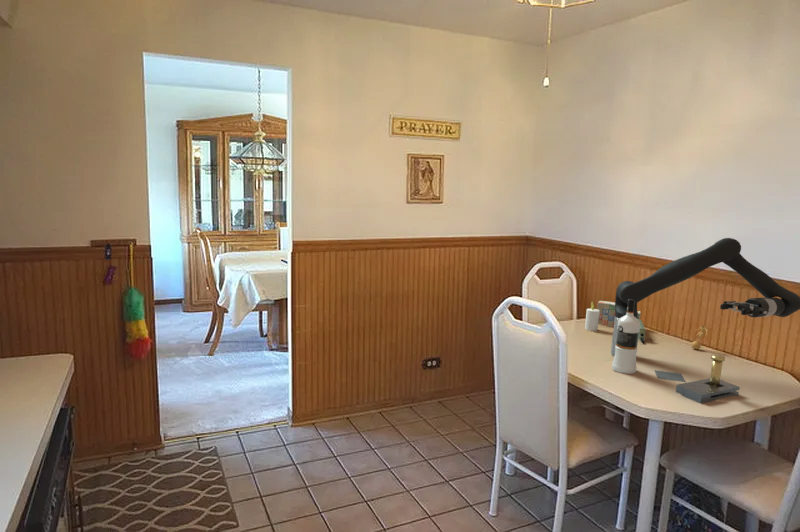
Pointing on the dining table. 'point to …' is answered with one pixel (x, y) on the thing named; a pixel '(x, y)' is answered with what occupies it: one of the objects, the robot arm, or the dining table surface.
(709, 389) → the slotted grey base plate
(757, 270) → the robot arm
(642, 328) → the handheld radio
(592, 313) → the candle
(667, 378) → the rubber mat
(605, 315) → the stack of blocks
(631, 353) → the vodka
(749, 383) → the dining table surface
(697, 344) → the figurine
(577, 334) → the dining table surface
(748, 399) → the dining table surface
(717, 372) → the brass pin
